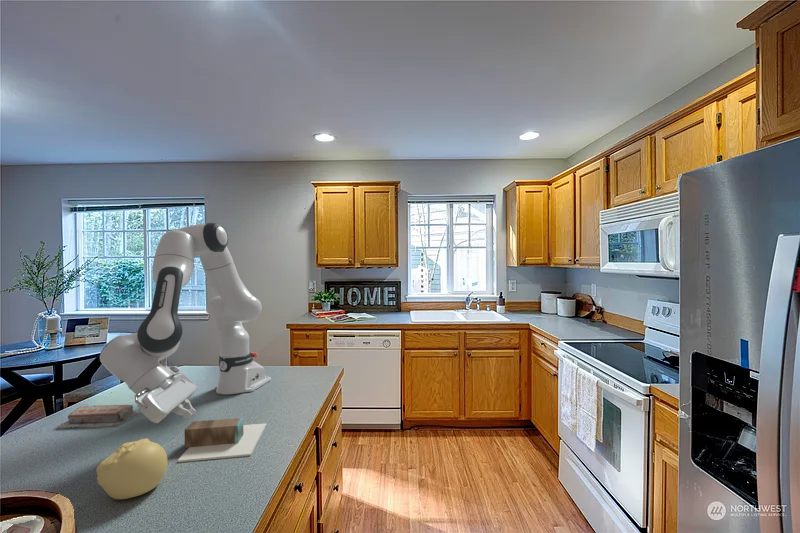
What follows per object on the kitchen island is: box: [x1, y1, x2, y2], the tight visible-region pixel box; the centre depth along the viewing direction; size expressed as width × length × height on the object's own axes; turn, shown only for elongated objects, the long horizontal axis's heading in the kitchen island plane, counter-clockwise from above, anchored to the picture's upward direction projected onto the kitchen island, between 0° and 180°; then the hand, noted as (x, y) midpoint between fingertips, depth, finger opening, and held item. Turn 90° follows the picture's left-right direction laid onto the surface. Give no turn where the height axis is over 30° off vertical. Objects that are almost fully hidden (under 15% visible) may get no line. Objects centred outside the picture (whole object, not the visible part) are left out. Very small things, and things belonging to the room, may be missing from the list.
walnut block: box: [184, 417, 244, 449], centre depth 98 cm, size 5×5×14 cm
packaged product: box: [57, 404, 138, 429], centre depth 114 cm, size 18×5×10 cm
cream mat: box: [177, 422, 267, 463], centre depth 99 cm, size 18×18×1 cm
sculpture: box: [95, 438, 169, 500], centre depth 78 cm, size 11×12×11 cm
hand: (192, 415), depth 98 cm, fingers closed
